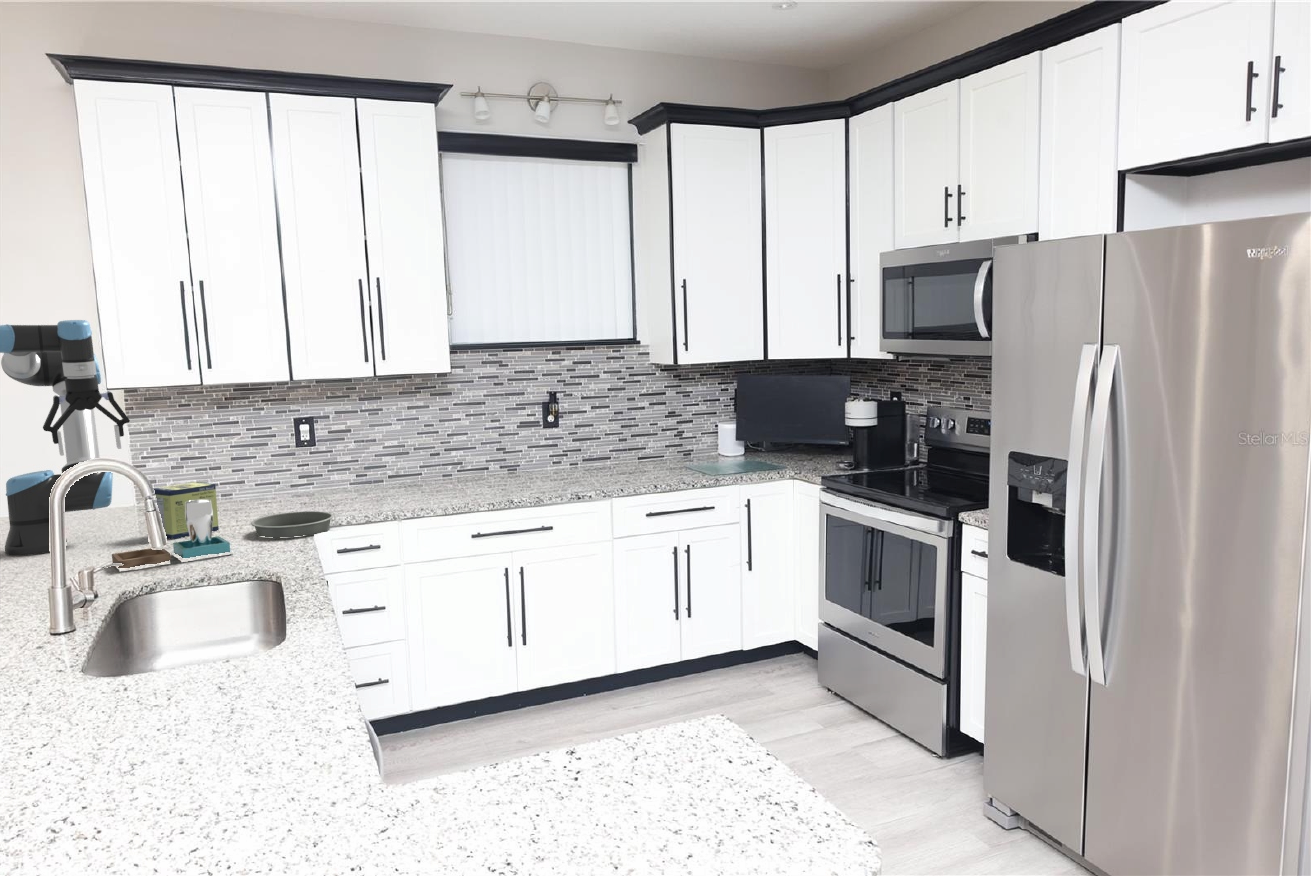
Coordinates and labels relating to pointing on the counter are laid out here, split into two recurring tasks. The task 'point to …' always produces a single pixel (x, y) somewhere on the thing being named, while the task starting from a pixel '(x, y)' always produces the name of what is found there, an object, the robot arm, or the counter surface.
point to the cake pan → (292, 524)
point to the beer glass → (199, 521)
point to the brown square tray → (140, 557)
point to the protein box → (183, 506)
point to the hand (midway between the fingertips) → (91, 451)
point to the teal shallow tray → (201, 548)
